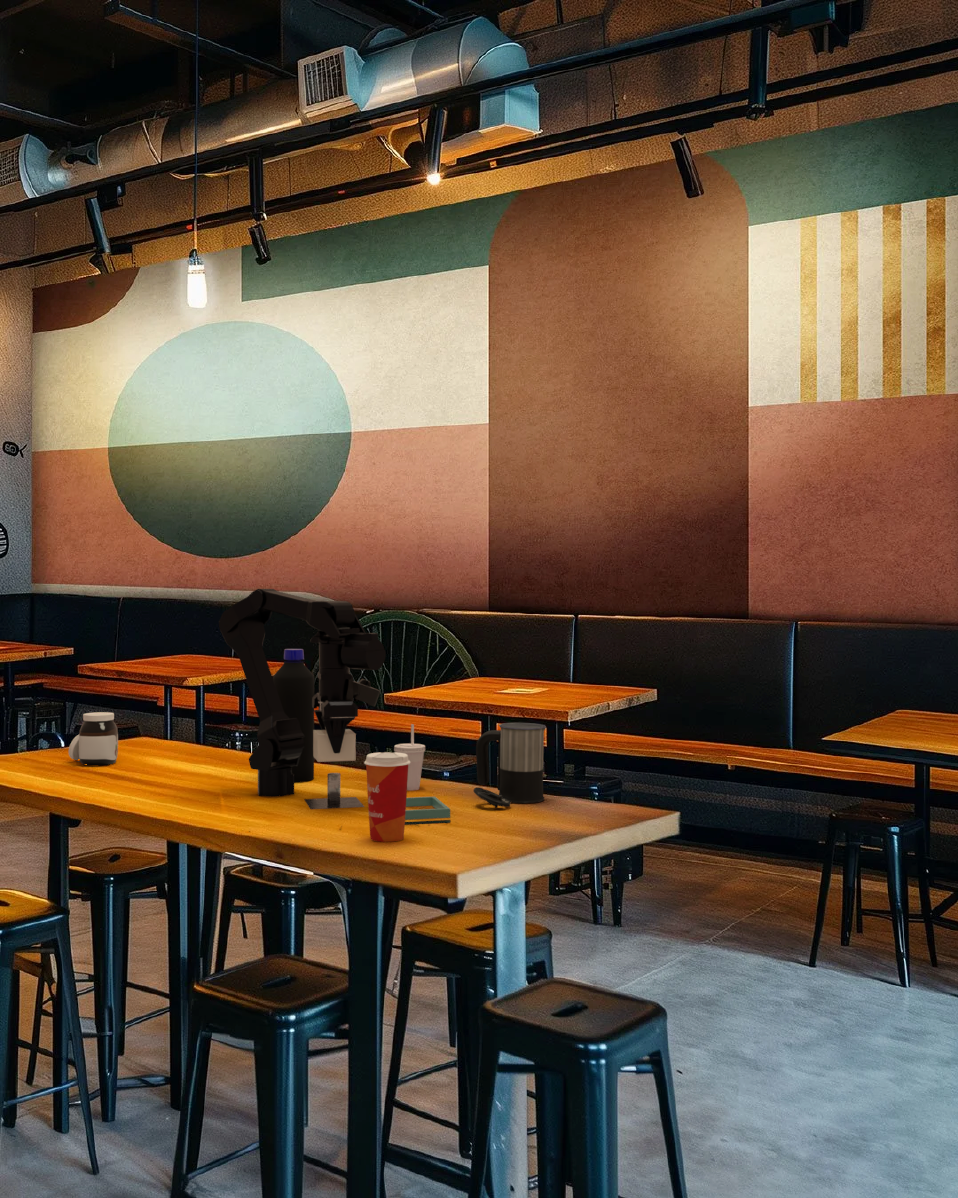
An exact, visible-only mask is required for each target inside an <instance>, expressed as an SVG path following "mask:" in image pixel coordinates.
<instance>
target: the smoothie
mask: <svg viewBox="0 0 958 1198" xmlns="http://www.w3.org/2000/svg"><path fill="white" fill-rule="evenodd" d="M393 751H394V752H397V753H404V754H407V755H408V760H409V761H410V764H408V780H407V791H417V790H420V784H421V780H422V779H421V776H422V770H423V763H424V754H425V751H426V745H425V744H421V743H415V724H413V723H411V724H410V743H398V744H395V745H394V747H393Z"/></svg>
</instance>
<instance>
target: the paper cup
mask: <svg viewBox="0 0 958 1198" xmlns="http://www.w3.org/2000/svg"><path fill="white" fill-rule="evenodd" d="M363 763H364V765H365V766H366V769H365V770H366V784H367V785H366V786H367V803H368V804H367V808H368V823H369V824H368V825H369V836H370V840H371V841H374V842H379V843H392V842H393V843H394V842H400V841H402V840H404V838H405V826H406V825H405V822H406V820H405V813H406V810H407V807H406V798H408V797H407V796H408V793H407V791H408V790H407V780H408V764H410V761H409V760H408V755H407V754H404V753H397V752H396V751H394V752H390V751H389V752H388V751H384V752H373V753H372V752H371V753H368V754H367V755H366V759H365V760H364V762H363Z"/></svg>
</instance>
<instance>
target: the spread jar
mask: <svg viewBox="0 0 958 1198" xmlns="http://www.w3.org/2000/svg"><path fill="white" fill-rule="evenodd" d="M82 719H83V722H82V724H81V727H80V729H79V734H78V735H76V736H75V737H74V738H73V739H72V740H71V743H70V744H69V747H68V756H69V758H71V759H72V760H73V759H74V760H73V761H75V760H78V759H80V761H79V762H80V763H81V764H82V765H83V764H87V765H106V766H109V765H108V764H112V765H114V764H115V763H116V761H117V758H118V755H119V749H118V748H119V732H118V730H119V729H118V727H117V724H116V723H115V721H114V719H115V713H114V712H109V711H108V712H107V711H106V712H105V711H104V712H103V711H101V712H100V711H99V712H97V711H96V712H87V713H83V715H82ZM113 763H114V764H113Z"/></svg>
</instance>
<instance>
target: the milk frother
mask: <svg viewBox="0 0 958 1198" xmlns="http://www.w3.org/2000/svg"><path fill="white" fill-rule="evenodd" d="M498 725H499V727H500V729H498V730H497V729H495V730H494V729H493V730H492V729H491V730H488V731H486V732H484V733H482V734H481V736H479V738H478V739H477V742H476V746H475V752H476V753H475V756H476V760H475V761H476V775H477V783H478V784H479V785H480V786H485V785H488V783H489V782H490V767H489V766H490V763H489V762H490V761H489V745H490V743H491V742H494V741H496V742H498V749H497V750H498V751H497V754H498V755H497V756H498V757H497V759H498V760H497V764H498V765H497V790H498V793H495V792H493V791H490V790H488V789H486V788H482V787H474V789H473V794H474V795H476V796H477V797H478V798H480V799H482V800H484V801H486V803H488V804H489V805H491V806H493V807H494V808H495V809H497V808H498V806H500V807H502V808H503V807H505V808H507V807H510V806H511V804H513V803H514V804H535V803H541V802H543V801H545V796H544V745H545V742H544V741H545V731H546V729H547V726H546V725H545V724H541V723H530V722H504V723H501V724H498Z"/></svg>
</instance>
